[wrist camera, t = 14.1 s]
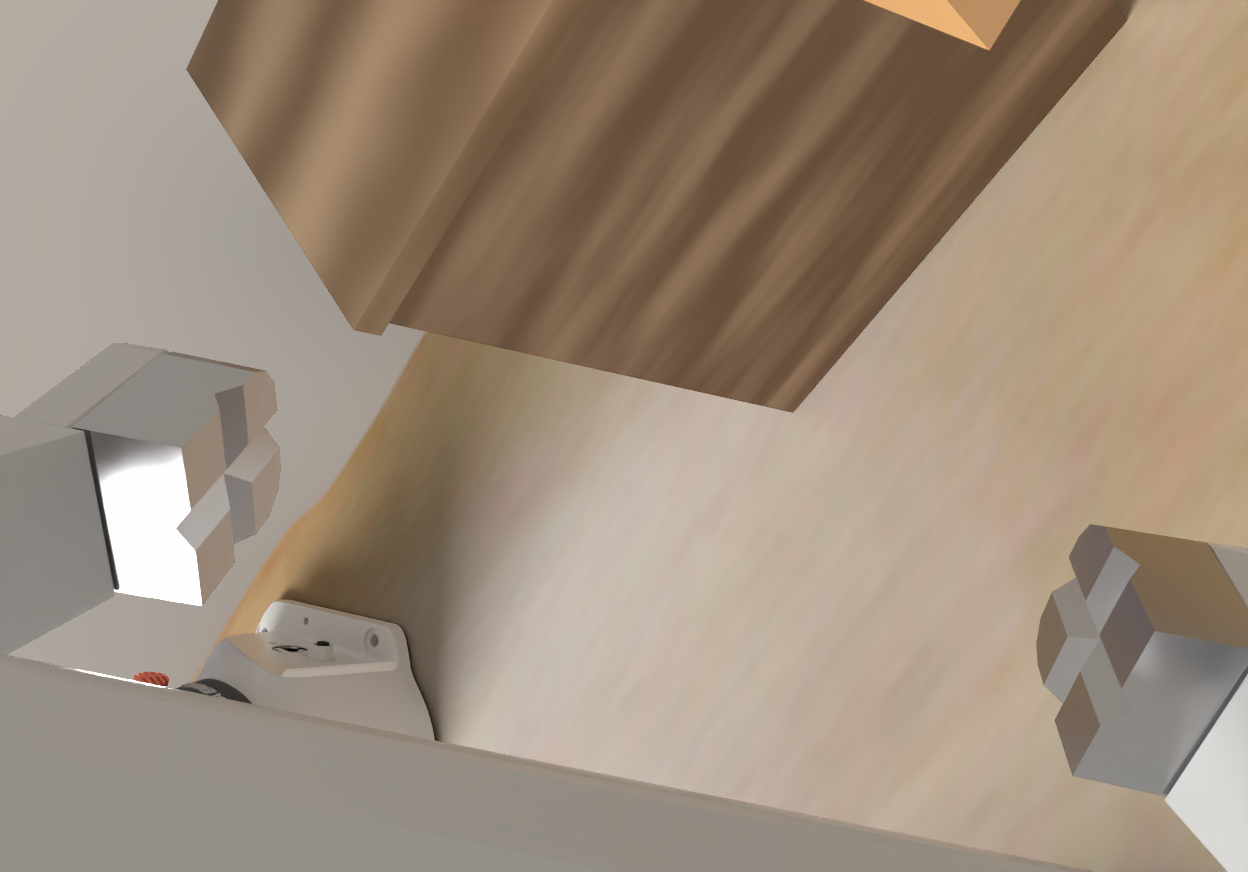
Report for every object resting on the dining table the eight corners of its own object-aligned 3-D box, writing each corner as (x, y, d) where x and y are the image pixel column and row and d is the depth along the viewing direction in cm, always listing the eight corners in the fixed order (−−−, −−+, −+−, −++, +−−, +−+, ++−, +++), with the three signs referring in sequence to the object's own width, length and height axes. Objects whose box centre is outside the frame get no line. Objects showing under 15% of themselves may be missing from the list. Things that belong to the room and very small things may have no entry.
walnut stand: (1135, 10, 41) (824, -594, 19) (786, 419, 49) (300, 319, 28) (878, -136, 49) (457, -675, 27) (616, 238, 58) (138, 50, 36)
